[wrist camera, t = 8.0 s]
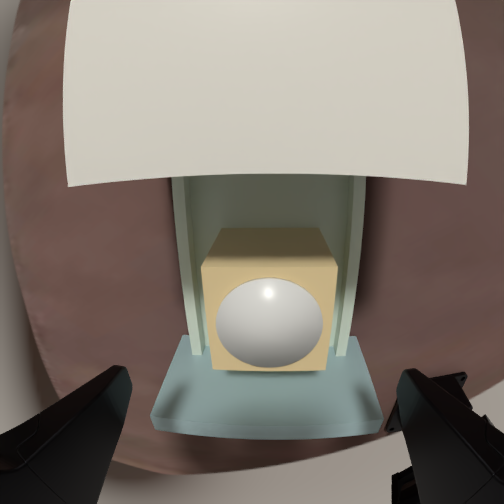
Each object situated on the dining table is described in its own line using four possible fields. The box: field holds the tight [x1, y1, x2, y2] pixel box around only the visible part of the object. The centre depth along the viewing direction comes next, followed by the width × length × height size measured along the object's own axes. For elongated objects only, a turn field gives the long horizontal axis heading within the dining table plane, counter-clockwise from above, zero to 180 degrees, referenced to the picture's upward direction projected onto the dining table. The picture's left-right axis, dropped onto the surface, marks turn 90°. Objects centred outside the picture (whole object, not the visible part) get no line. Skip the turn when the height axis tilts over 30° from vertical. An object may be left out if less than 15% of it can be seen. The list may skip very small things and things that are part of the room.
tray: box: [150, 174, 384, 440], centre depth 14 cm, size 13×11×7 cm
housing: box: [63, 0, 469, 187], centre depth 9 cm, size 13×11×9 cm
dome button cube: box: [201, 228, 338, 371], centre depth 14 cm, size 5×5×5 cm
